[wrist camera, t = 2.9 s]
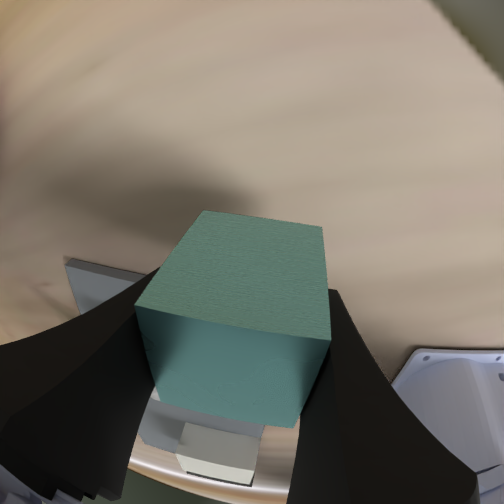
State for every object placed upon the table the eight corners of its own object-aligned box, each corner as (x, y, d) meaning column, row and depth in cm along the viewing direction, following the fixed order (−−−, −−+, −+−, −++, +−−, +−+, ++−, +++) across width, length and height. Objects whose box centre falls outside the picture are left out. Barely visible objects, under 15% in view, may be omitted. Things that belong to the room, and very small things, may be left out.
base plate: (304, 303, 15) (301, 360, 12) (255, 465, 30) (250, 491, 27) (65, 257, 17) (29, 291, 13) (142, 437, 31) (133, 460, 28)
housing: (260, 437, 23) (254, 471, 20) (255, 456, 26) (249, 484, 23) (185, 422, 24) (175, 453, 21) (191, 443, 27) (182, 469, 24)
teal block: (321, 227, 10) (331, 340, 5) (301, 316, 12) (293, 428, 7) (203, 210, 10) (134, 304, 6) (203, 300, 12) (160, 401, 8)
